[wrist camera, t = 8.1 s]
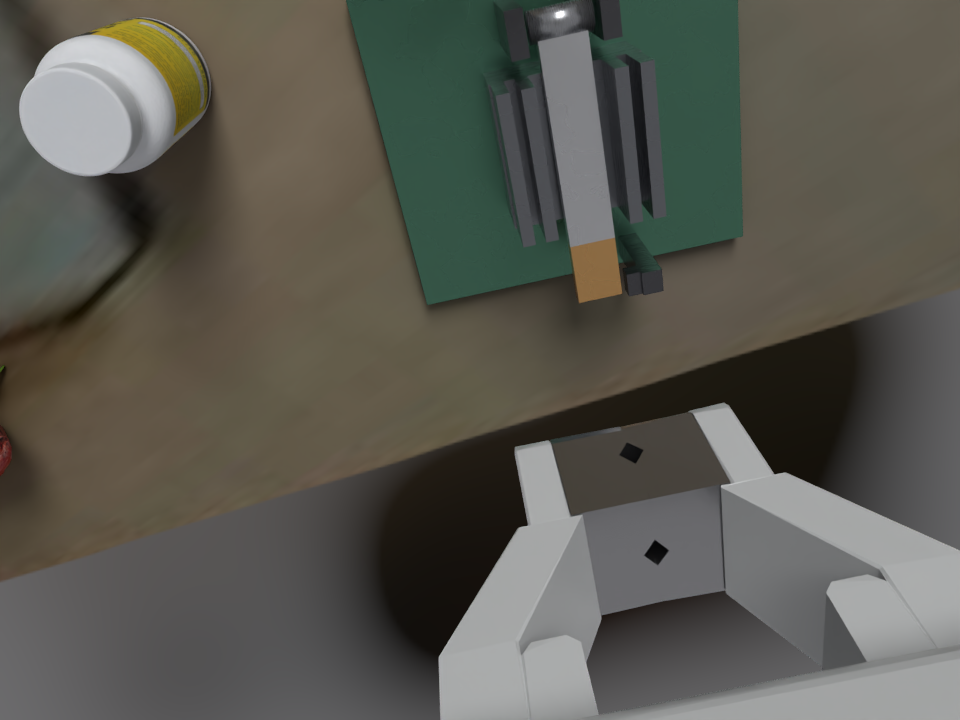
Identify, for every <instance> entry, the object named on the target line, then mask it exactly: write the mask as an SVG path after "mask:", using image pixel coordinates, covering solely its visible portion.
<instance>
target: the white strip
mask: <svg viewBox="0 0 960 720" xmlns="http://www.w3.org/2000/svg"><path fill="white" fill-rule="evenodd" d="M524 19H525V27H526V32H527V37H528V41H529V44H530V46H532V45H536V47H537V53H538V60H539V66H540V72H541V78H542V85H543V91H544V97H545V104H546V110H547V116H548V122H549V129H550V135H551V141H552V147H553V154H554V160H555V166H556V172H557V179H558V185H559V191H560V197H561V204H562V210H563V216H564V222H565V229H566V235H567V241H568V247H569V254H570V260H571V266H572V273H573V279H574V285H575V291H576V297H577V299H578V301H579V303H582V302H586V301H591V300H596V299H600V298H605V297H610V296H614V295H619V294H622V288H621V280H620V273H619V265H618V257H617V250H616V242H615V234H614V226H613V219H612V211H611V203H610V195H609V188H608V180H607V172H606V164H605V157H604V149H603V141H602V134H601V126H600V118H599V110H598V103H597V95H596V87H595V79H594V72H593V64H592V56H591V48H590V41H589V33H588V32H593V31H595V14H594V8H593V3H592V0H570V1H566V2H562V3H557V4H553V5H549V6H544V7H540V8H536V9H531V10H527V11H524Z"/></svg>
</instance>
